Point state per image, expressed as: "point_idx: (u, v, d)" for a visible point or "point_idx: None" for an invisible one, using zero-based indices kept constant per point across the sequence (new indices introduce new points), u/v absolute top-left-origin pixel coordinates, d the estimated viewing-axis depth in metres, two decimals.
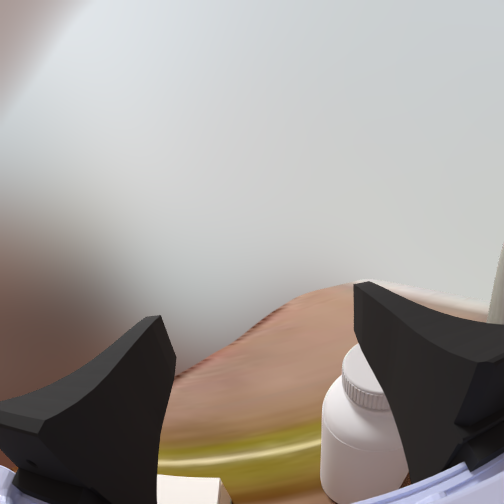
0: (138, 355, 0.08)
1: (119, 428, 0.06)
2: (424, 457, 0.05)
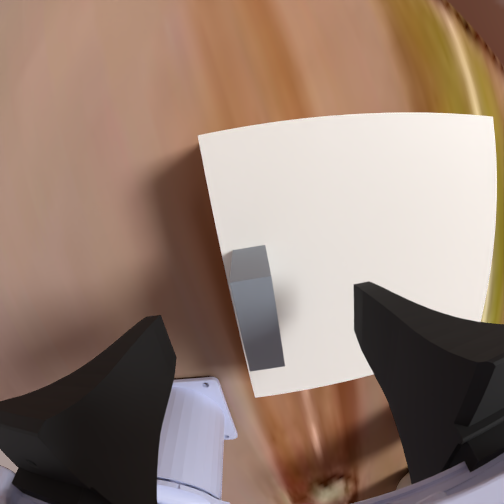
0: (138, 355, 0.08)
1: (119, 428, 0.06)
2: (425, 457, 0.05)
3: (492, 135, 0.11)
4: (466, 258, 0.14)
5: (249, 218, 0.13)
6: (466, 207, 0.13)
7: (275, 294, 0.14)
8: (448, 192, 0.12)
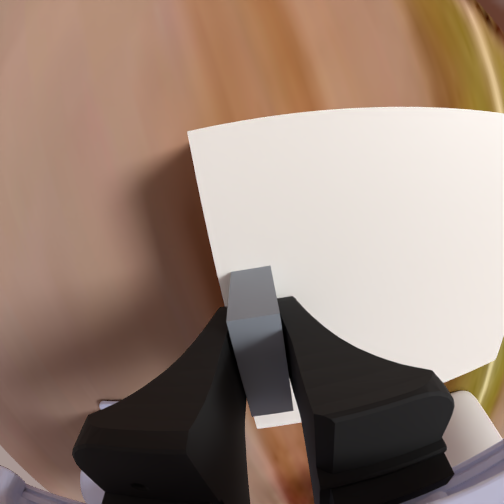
0: (229, 346, 0.08)
1: (227, 427, 0.06)
2: (314, 489, 0.05)
3: None
4: (494, 274, 0.11)
5: (252, 234, 0.10)
6: (497, 218, 0.10)
7: None
8: (480, 202, 0.10)
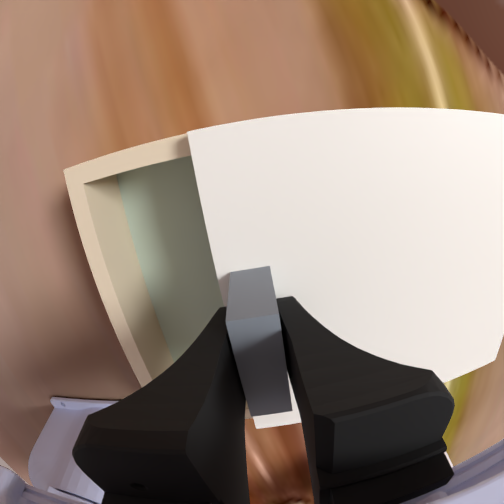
0: (229, 346, 0.08)
1: (227, 427, 0.06)
2: (314, 489, 0.05)
3: None
4: (493, 275, 0.11)
5: (251, 234, 0.10)
6: (497, 219, 0.10)
7: None
8: (480, 202, 0.10)
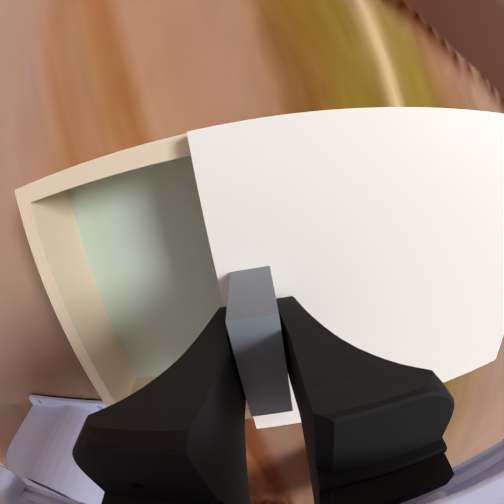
0: (229, 346, 0.08)
1: (227, 427, 0.06)
2: (314, 489, 0.05)
3: None
4: (493, 275, 0.11)
5: (251, 234, 0.10)
6: (497, 219, 0.10)
7: None
8: (480, 202, 0.10)
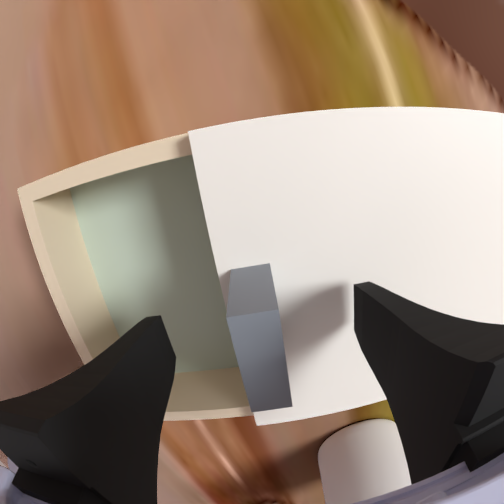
0: (138, 355, 0.08)
1: (119, 428, 0.06)
2: (424, 457, 0.05)
3: None
4: (492, 273, 0.11)
5: (251, 232, 0.11)
6: (495, 217, 0.11)
7: (281, 319, 0.12)
8: (478, 200, 0.10)
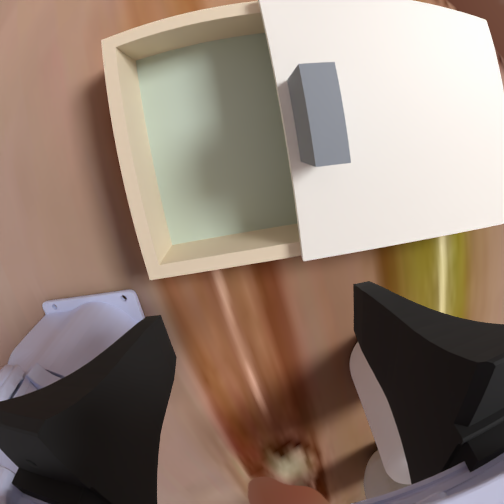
0: (138, 355, 0.08)
1: (119, 428, 0.06)
2: (425, 457, 0.05)
3: (488, 33, 0.11)
4: (486, 126, 0.13)
5: (302, 55, 0.12)
6: (478, 81, 0.12)
7: None
8: (461, 64, 0.12)
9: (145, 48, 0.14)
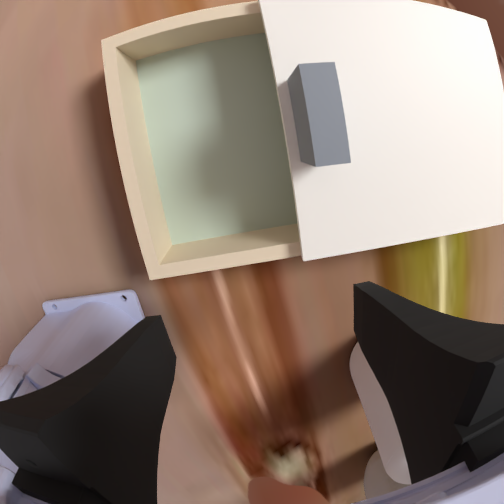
0: (138, 355, 0.08)
1: (119, 428, 0.06)
2: (425, 457, 0.05)
3: (488, 33, 0.11)
4: (486, 126, 0.13)
5: (302, 55, 0.12)
6: (478, 81, 0.12)
7: None
8: (461, 64, 0.12)
9: (145, 48, 0.14)
